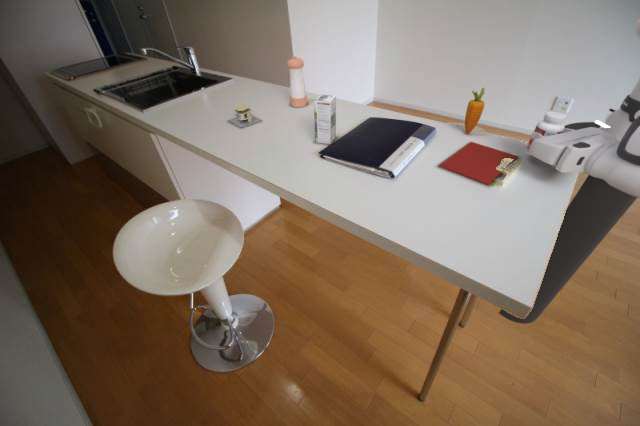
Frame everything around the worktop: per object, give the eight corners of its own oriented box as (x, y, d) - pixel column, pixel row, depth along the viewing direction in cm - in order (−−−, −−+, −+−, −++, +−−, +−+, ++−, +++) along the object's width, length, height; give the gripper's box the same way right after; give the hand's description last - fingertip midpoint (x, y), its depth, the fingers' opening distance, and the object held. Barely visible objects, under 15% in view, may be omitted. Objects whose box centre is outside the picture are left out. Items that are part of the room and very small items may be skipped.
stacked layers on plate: (228, 121, 117) (225, 107, 113) (247, 114, 121) (245, 101, 118) (241, 127, 111) (238, 113, 108) (260, 121, 116) (258, 107, 112)
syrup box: (320, 135, 103) (318, 93, 93) (336, 137, 101) (336, 95, 92) (315, 142, 99) (312, 99, 89) (331, 144, 97) (330, 101, 88)
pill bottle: (532, 158, 80) (551, 119, 73) (520, 148, 85) (537, 110, 77) (555, 157, 80) (576, 118, 73) (542, 147, 84) (560, 109, 77)
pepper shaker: (298, 108, 125) (294, 59, 113) (287, 104, 129) (282, 57, 116) (310, 103, 129) (307, 55, 116) (299, 100, 133) (295, 53, 120)
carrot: (463, 137, 97) (476, 91, 87) (457, 131, 101) (469, 86, 91) (477, 136, 97) (493, 90, 87) (471, 130, 101) (485, 85, 91)
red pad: (470, 143, 94) (471, 141, 93) (517, 157, 85) (517, 155, 85) (438, 166, 83) (439, 164, 83) (487, 185, 75) (488, 183, 75)
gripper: (635, 134, 69) (579, 114, 79) (568, 149, 65) (518, 126, 75) (619, 157, 73) (568, 135, 83) (555, 173, 69) (509, 148, 79)
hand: (544, 131), depth 79 cm, fingers closed on pill bottle, 6 cm apart
